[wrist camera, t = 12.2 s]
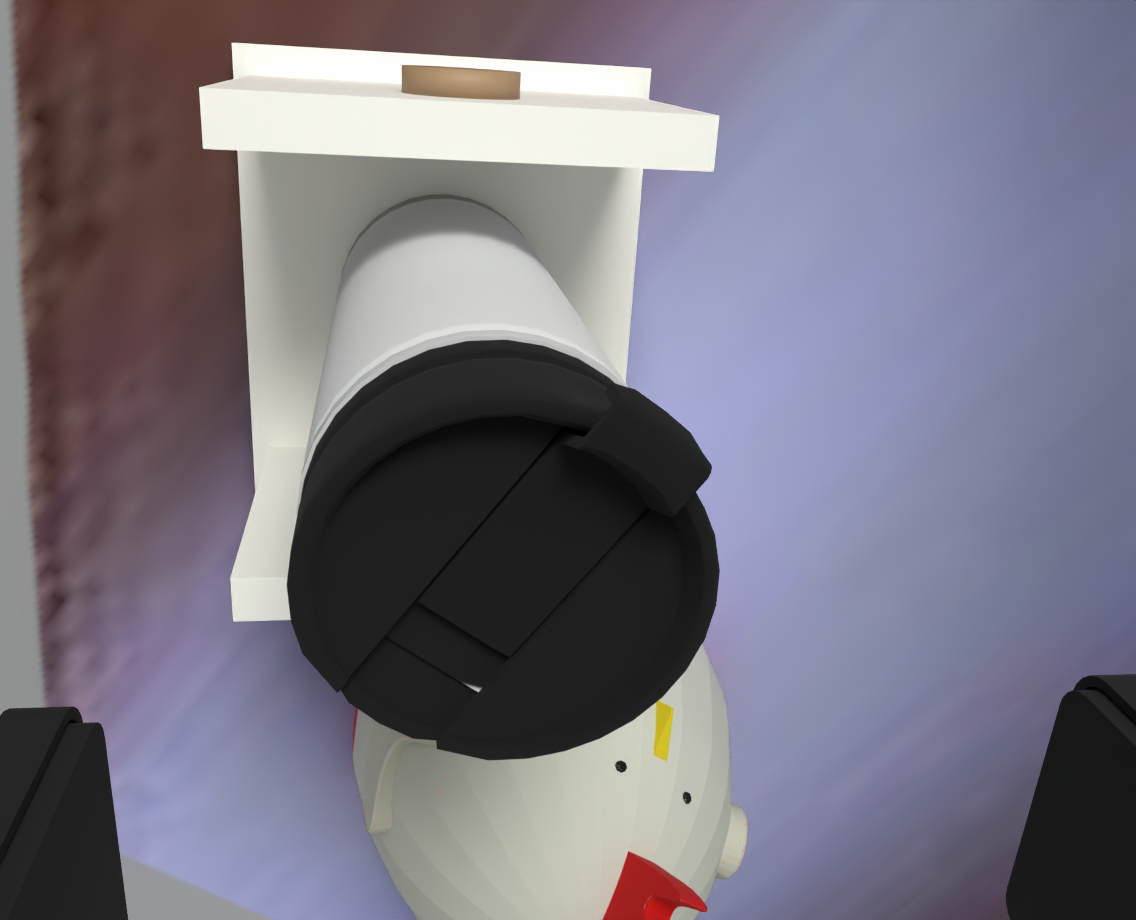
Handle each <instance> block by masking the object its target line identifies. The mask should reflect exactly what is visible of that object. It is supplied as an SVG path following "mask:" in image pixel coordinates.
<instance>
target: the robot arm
mask: <svg viewBox="0 0 1136 920" xmlns="http://www.w3.org/2000/svg"><path fill="white" fill-rule="evenodd" d="M120 861H121V860H120V852H119V845H118V837H117V829H116V821H115V813H114V806H113V798H112V790H111V782H110V774H109V767H108V759H107V751H106V743H105V736H104V731H103V728H102V726H101V724H100V723H98V722H97V723H83V721H82V716H81V714H80V712H79V710H78V709H77V708H75V707H46V708H16V709H15V708H14V709H8V710H5V711H4V712H3V713H2V714H1V716H0V920H128V915H127V907H126V899H125V892H124V884H123V876H122V869H121V862H120ZM1006 904H1007V909H1008V914H1009V917H1010V920H1136V674H1126V675H1093V676H1087V677H1084V678H1082V679H1081V680H1080V681H1079V682H1078V683H1077V684H1076V686H1075V688H1074V690H1073V691H1070V692H1068V693H1067V694H1066V695H1065V696H1064V697H1063V699H1062V701H1061V703H1060V706H1059V710H1058V713H1057V716H1056V720H1055V723H1054V727H1053V730H1052V734H1051V737H1050V741H1049V744H1048V748H1047V751H1046V755H1045V758H1044V762H1043V765H1042V769H1041V772H1040V776H1039V779H1038V783H1037V786H1036V790H1035V793H1034V797H1033V800H1032V804H1031V807H1030V811H1029V814H1028V817H1027V821H1026V824H1025V828H1024V831H1023V835H1022V838H1021V842H1020V845H1019V849H1018V852H1017V856H1016V859H1015V863H1014V866H1013V870H1012V873H1011V877H1010V880H1009V884H1008V887H1007V893H1006Z"/></svg>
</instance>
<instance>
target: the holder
mask: <svg viewBox="0 0 1136 920" xmlns="http://www.w3.org/2000/svg"><path fill="white" fill-rule="evenodd" d="M232 57H233V76H234V79H232V80H228V81H224V82H220V83H216V84H212V85H208V86H203V87H199V92H200V108H201V124H202V139H203V149H219V150H237V153H238V172H239V191H240V210H241V229H242V248H243V267H244V286H245V305H246V324H247V343H248V362H249V381H250V400H251V420H252V439H253V458H254V477H255V496H254V500H253V503H252V506H251V510H250V513H249V517H248V520H247V523H246V527H245V530H244V534H243V537H242V540H241V544H240V547H239V551H238V554H237V557H236V561H235V564H234V568H233V571H232V574H231V578H230V579H231V594H232V610H233V621H270V620H291V619H290V610H289V602H288V593H287V577H288V569H289V560H290V552H291V546H292V541H293V535H294V530H295V525H296V520H297V513H296V512H297V504H298V496H299V488H300V480H301V474H302V469H303V466H304V460H305V454H306V449H307V444H308V439H309V434H310V429H311V424H312V419H313V414H314V409H315V404H316V399H317V394H318V389H319V384H320V379H321V374H322V369H323V364H324V359H325V354H326V349H327V344H328V339H329V334H330V329H331V324H332V319H333V314H334V309H335V304H336V299H337V294H338V289H339V284H340V279H341V274H342V270H343V267H344V264H345V261H346V258H347V255H348V253H349V251H350V249H351V247H352V246H353V244H354V242H355V241H356V239H357V237H358V236H359V234H360V233H361V232H362V231H363V230H364V229H365V228H366V227H367V225H368V224H369V223H370V222H371V221H372V220H373V219H374V218H376V217H377V216H379V215H380V214H381V213H383V212H384V211H386V210H387V209H388V208H390V207H392V206H394V205H397V204H399V203H401V202H403V201H406V200H408V199H412V198H417V197H421V196H426V195H454V196H460V197H465V198H470V199H472V200H475V201H477V202H480V203H482V204H485V205H487V206H489V207H491V208H492V209H494V210H495V211H497V212H499V213H500V214H502V215H503V216H505V217H506V218H507V219H508V220H509V221H510V222H511V223H512V224H513V225H514V226H515V227H516V228H517V229H518V230H519V231H520V232H521V233H522V235H523V236H524V238H525V239H526V241H527V242H528V244H529V245H530V246H531V248H532V249H533V251H534V252H535V254H536V255H537V256H538V258H539V259H540V261H541V262H542V264H543V265H544V267H545V268H546V269H547V271H548V272H549V274H550V275H551V277H552V278H553V279H554V281H555V282H556V284H557V285H558V287H559V288H560V290H561V291H562V292H563V294H564V295H565V297H566V298H567V300H568V301H569V302H570V304H571V305H572V307H573V308H574V310H575V311H576V313H577V314H578V315H579V317H580V318H581V320H582V321H583V323H584V324H585V325H586V327H587V328H588V330H589V331H590V333H591V334H592V336H593V337H594V338H595V340H596V341H597V343H598V344H599V346H600V347H601V348H602V350H603V351H604V353H605V354H606V356H607V357H608V359H609V360H610V361H611V363H612V364H613V366H614V367H615V369H616V370H617V371H618V373H619V374H620V376H621V377H622V379H623V380H624V382H625V383H626V370H627V358H628V346H629V334H630V322H631V309H632V297H633V285H634V273H635V261H636V248H637V236H638V224H639V212H640V200H641V187H642V175H643V169H665V170H687V171H709V172H714V163H715V153H716V144H717V134H718V125H719V116H718V115H714V114H709V113H705V112H701V111H696V110H692V109H687V108H683V107H678V106H674V105H670V104H665V103H661V102H656V101H652V100H649V90H650V77H651V69H649V68H638V67H622V66H606V65H589V64H573V63H557V62H540V61H524V60H508V59H491V58H475V57H459V56H443V55H426V54H410V53H394V52H377V51H361V50H345V49H328V48H312V47H296V46H280V45H263V44H247V43H232Z"/></svg>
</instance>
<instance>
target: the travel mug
mask: <svg viewBox="0 0 1136 920" xmlns="http://www.w3.org/2000/svg"><path fill="white" fill-rule="evenodd" d="M711 469H712V466H711V464H710V463H709V461H708V460H707V458H706V457H705V455H704V454H703V453H702V451H701V449H700V448H699V446H698V444H697V443H696V441H695V439H694V438H693V436H692V434H691V433H690V432H689V431H688V430H687V429H686V428H684V427H683V426H682V425H681V424H680V423H679V422H677V421H676V420H675V419H674V418H673V417H672V416H670V415H669V414H668V413H667V412H666V411H664V410H663V409H662V408H660V407H659V406H658V405H656V404H655V403H653V402H652V401H651V400H649V399H648V398H646V397H645V396H644V395H642V394H641V393H639V392H638V391H637V390H635V389H631V388H629V387H628V386H627V384H626V383H625V382H624V380H623V379H622V377H621V376H620V374H619V373H618V371H617V370H616V369H615V367H614V366H613V364H612V363H611V361H610V360H609V359H608V357H607V356H606V354H605V353H604V351H603V350H602V348H601V347H600V346H599V344H598V343H597V341H596V340H595V338H594V337H593V336H592V334H591V333H590V331H589V330H588V328H587V327H586V325H585V324H584V323H583V321H582V320H581V318H580V317H579V315H578V314H577V313H576V311H575V310H574V308H573V307H572V305H571V304H570V302H569V301H568V300H567V298H566V297H565V295H564V294H563V292H562V291H561V290H560V288H559V287H558V285H557V284H556V282H555V281H554V279H553V278H552V277H551V275H550V274H549V272H548V271H547V269H546V268H545V267H544V265H543V264H542V262H541V261H540V259H539V258H538V256H537V255H536V254H535V252H534V251H533V249H532V248H531V246H530V245H529V244H528V242H527V241H526V239H525V238H524V236H523V235H522V233H521V232H520V231H519V230H518V229H517V228H516V227H515V226H514V225H513V224H512V223H511V222H510V221H509V220H508V219H507V218H506V217H505V216H503V215H502V214H500V213H499V212H497V211H495V210H494V209H492V208H491V207H489V206H487V205H485V204H482V203H480V202H477V201H475V200H472V199H470V198H465V197H460V196H454V195H426V196H421V197H417V198H412V199H408V200H406V201H403V202H401V203H399V204H397V205H394V206H392V207H390V208H388V209H387V210H386V211H384V212H383V213H381V214H380V215H379V216H377V217H376V218H374V219H373V220H372V221H371V222H370V223H369V224H368V225H367V227H366V228H365V229H364V230H363V231H362V232H361V233H360V234H359V236H358V237H357V239H356V241H355V242H354V244H353V246H352V247H351V249H350V251H349V253H348V255H347V258H346V261H345V264H344V267H343V270H342V274H341V279H340V284H339V289H338V294H337V299H336V304H335V309H334V314H333V319H332V324H331V329H330V334H329V339H328V344H327V349H326V354H325V359H324V364H323V369H322V374H321V379H320V384H319V389H318V394H317V399H316V404H315V409H314V414H313V419H312V424H311V429H310V434H309V439H308V444H307V449H306V454H305V460H304V466H303V469H302V474H301V480H300V488H299V496H298V504H297V512H296V513H297V520H296V525H295V530H294V535H293V541H292V546H291V552H290V560H289V569H288V577H287V593H288V602H289V610H290V619H291V623H292V625H293V628H294V631H295V634H296V636H297V639H298V642H299V645H300V647H301V650H302V653H303V655H304V656H305V657H306V658H307V659H308V660H309V661H310V663H311V664H312V665H313V666H314V667H315V668H316V669H317V670H318V672H319V673H320V674H321V675H322V676H323V677H324V678H325V680H326V681H327V682H328V683H329V684H330V685H331V686H332V687H333V689H334V690H335V691H336V692H339V691H340V690H341V691H342V692H343V694H344V696H345V697H346V699H347V700H348V702H349V703H350V704H352V705H353V706H355V707H356V708H358V709H359V710H360V711H362V712H363V713H365V714H366V715H368V716H369V717H370V718H372V719H373V720H375V721H376V722H378V723H379V724H381V725H384V726H386V727H388V728H390V729H393V730H395V731H397V732H399V733H401V734H404V735H406V736H408V737H410V738H412V739H423V740H434V741H436V744H437V749H439V750H443V751H448V752H452V753H457V754H461V755H466V756H470V757H475V758H479V759H484V760H488V761H489V760H511V759H529V758H534V757H539V756H544V755H549V754H554V753H559V752H564V751H567V750H570V749H573V748H575V747H578V746H581V745H584V744H586V743H589V742H592V741H595V740H598V739H600V738H602V737H604V736H606V735H608V734H610V733H611V732H613V731H615V730H617V729H619V728H620V727H622V726H624V725H626V724H628V723H629V722H631V721H633V720H635V719H636V718H637V717H638V716H640V715H641V714H642V713H643V712H645V711H646V710H647V709H648V708H650V707H651V706H652V705H653V704H655V703H656V702H657V701H659V700H660V699H661V698H662V697H663V696H664V695H665V694H666V693H667V692H668V691H669V689H670V688H671V687H672V686H673V685H674V684H675V683H676V682H677V680H678V679H679V678H680V677H681V676H682V675H683V674H684V672H685V671H686V670H687V668H688V667H689V665H690V663H691V662H692V660H693V658H694V657H695V655H696V653H697V651H698V650H699V648H700V646H701V645H702V643H703V641H704V640H705V637H706V634H707V631H708V628H709V625H710V622H711V619H712V616H713V613H714V610H715V607H716V601H717V591H718V581H719V571H720V570H719V562H718V555H717V547H716V539H715V534H714V531H713V529H712V526H711V524H710V521H709V518H708V516H707V513H706V510H705V508H704V506H703V504H702V503H701V501H700V499H699V497H698V495H697V493H696V491H697V490H698V489H699V488H700V487H701V485H702V484H703V483H704V482H705V481H706V480H707V479H708V477H709V475H710V473H711Z"/></svg>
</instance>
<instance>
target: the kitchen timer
mask: <svg viewBox="0 0 1136 920" xmlns="http://www.w3.org/2000/svg"><path fill="white" fill-rule="evenodd" d="M352 758H353V766H354V772H355V776H356V780H357V784H358V788H359V793H360V797H361V801H362V805H363V810H364V816H365V825H366V830H367V832H368V833H369V834H371V837H372V839H373V841H374V843H375V846H376V848H377V850H378V852H379V854H380V857H381V859H382V861H383V863H384V865H385V867H386V869H387V871H388V873H389V875H390V877H391V879H392V881H393V883H394V885H395V886H396V888H397V890H398V891H399V893H400V894H401V896H402V897H403V899H404V900H405V902H406V903H407V905H408V906H409V908H410V909H411V911H412V912H413V914H414V915H415V917H416V918H417V920H695V918H696V916H697V915H698V913H699V912H700V911H701V912H707V906H706V904H705V902H706V900H707V898H708V896H709V893H710V891H711V889H712V886H713V883H714V880H715V878H718V879H727V878H729V877H731V876H732V875H733V874H734V873H735V872H736V871H737V869H738V867H739V866H740V864H741V861H742V859H743V856H744V852H745V847H746V841H747V830H748V827H747V819H746V816H745V813H744V812H743V811H742V809H741V808H740V807H739V806H738V805H735V804H732V803H731V761H730V746H729V730H728V717H727V708H726V703H725V698H724V695H723V692H722V689H721V686H720V683H719V681H718V679H717V676H716V674H715V672H714V669H713V667H712V665H711V663H710V660H709V658H708V656H707V653H706V651H705V649H704V647H703V644H702V645H701V646H700V648H699V650H698V651H697V653H696V655H695V657H694V658H693V660H692V662H691V663H690V665H689V667H688V668H687V670H686V671H685V672H684V674H683V675H682V676H681V677H680V678H679V679H678V680H677V682H676V683H675V684H674V685H673V686H672V687H671V688H670V689H669V691H668V692H667V693H666V694H665V695H664V696H663V697H662V698H661V699H660V700H659V701H657V702H656V703H655V704H653V705H652V706H651V707H650V708H648V709H647V710H646V711H645V712H643V713H642V714H641V715H640V716H638V717H637V718H636V719H635V720H633V721H631V722H629V723H628V724H626V725H624V726H622V727H620V728H619V729H617V730H615V731H613V732H611V733H610V734H608V735H606V736H604V737H602V738H600V739H598V740H595V741H592V742H589V743H586V744H584V745H581V746H578V747H575V748H573V749H570V750H567V751H564V752H559V753H554V754H549V755H544V756H539V757H534V758H529V759H511V760H489V761H488V760H484V759H479V758H475V757H470V756H466V755H461V754H457V753H452V752H448V751H443V750H439V749H437V744H436V741H434V740H423V739H412V738H410V737H408V736H406V735H404V734H401V733H399V732H397V731H395V730H393V729H390V728H388V727H386V726H384V725H381V724H379V723H378V722H376V721H375V720H373V719H372V718H370V717H369V716H368V715H366V714H365V713H363V712H362V711H360V710H359V709H358V708H356V714H355V722H354V733H353V753H352Z"/></svg>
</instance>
